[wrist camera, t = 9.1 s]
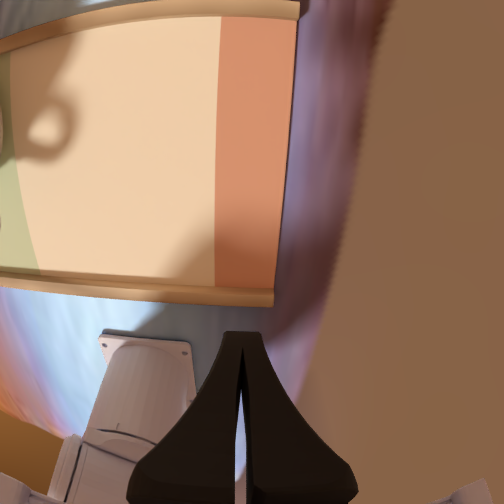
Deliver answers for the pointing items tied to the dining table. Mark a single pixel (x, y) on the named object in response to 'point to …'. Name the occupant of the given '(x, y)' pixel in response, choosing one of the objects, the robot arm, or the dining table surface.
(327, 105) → the dining table surface
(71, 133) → the beige flat rectangular board
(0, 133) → the teacup
